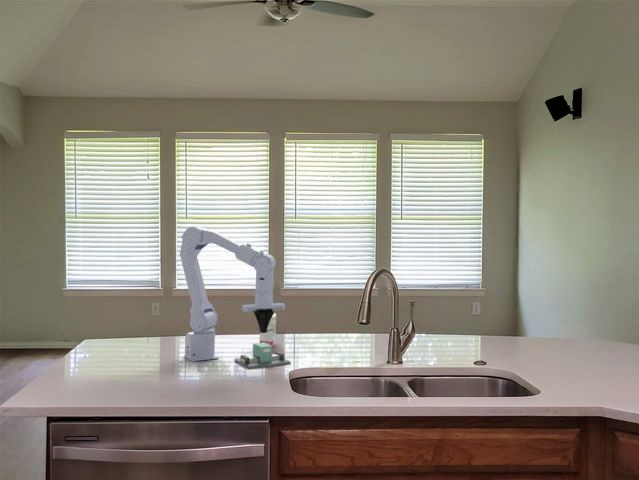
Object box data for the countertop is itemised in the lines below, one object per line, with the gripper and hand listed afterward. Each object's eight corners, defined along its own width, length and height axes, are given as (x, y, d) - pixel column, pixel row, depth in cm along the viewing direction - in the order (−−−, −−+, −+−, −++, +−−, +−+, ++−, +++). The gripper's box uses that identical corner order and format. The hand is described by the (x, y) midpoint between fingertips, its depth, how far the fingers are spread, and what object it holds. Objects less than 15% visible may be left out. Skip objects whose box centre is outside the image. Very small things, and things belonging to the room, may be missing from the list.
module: (260, 362, 175) (261, 347, 175) (252, 358, 180) (253, 343, 180) (271, 361, 177) (272, 346, 177) (263, 357, 182) (264, 342, 182)
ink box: (272, 348, 200) (273, 316, 200) (259, 348, 200) (259, 315, 200) (275, 343, 209) (276, 312, 208) (262, 343, 209) (263, 312, 209)
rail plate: (248, 368, 170) (248, 360, 170) (234, 361, 179) (234, 353, 179) (290, 363, 178) (290, 355, 178) (275, 356, 187) (275, 349, 187)
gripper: (248, 293, 171) (247, 336, 171) (289, 291, 178) (288, 332, 179) (240, 290, 177) (238, 332, 177) (279, 289, 185) (278, 329, 185)
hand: (263, 332), depth 178 cm, fingers closed
